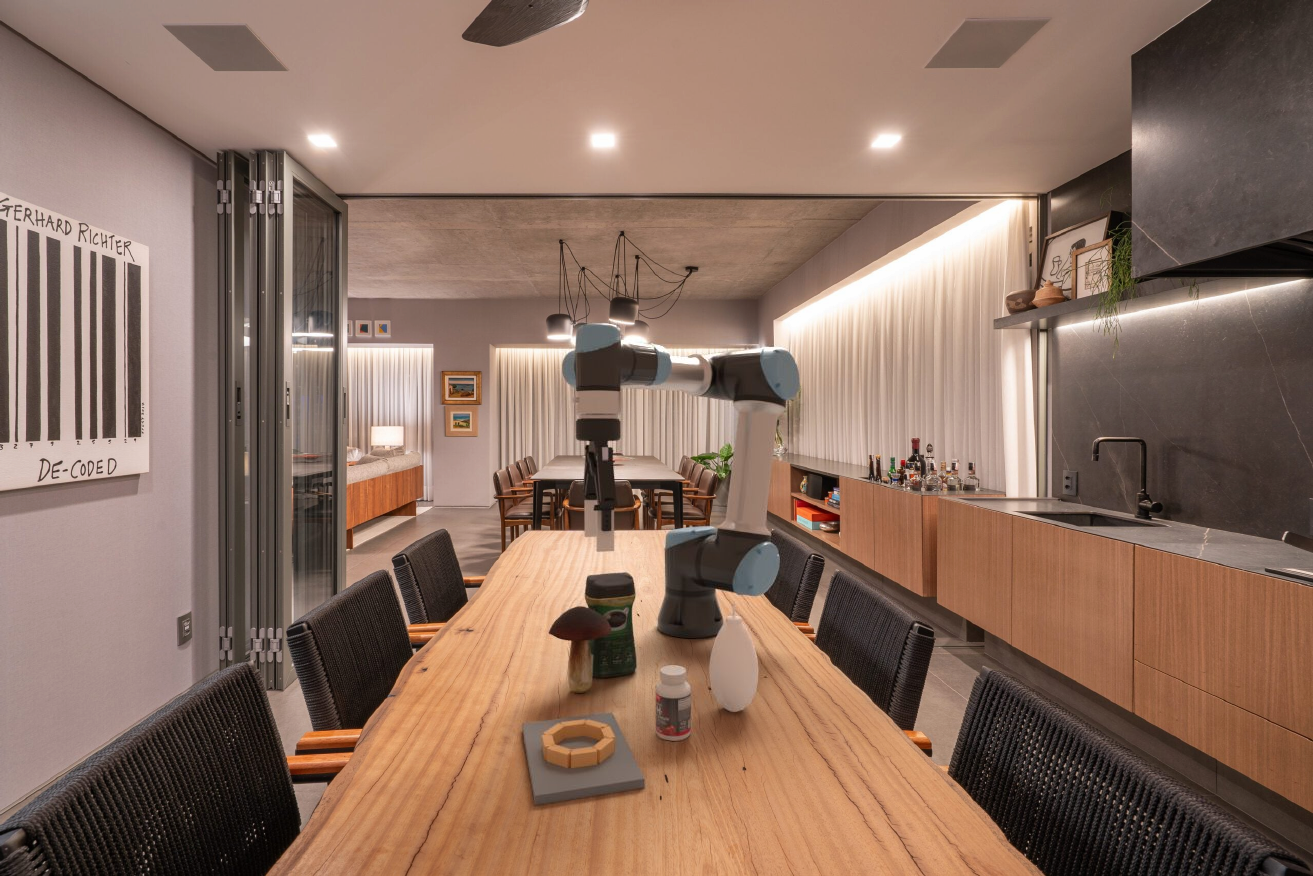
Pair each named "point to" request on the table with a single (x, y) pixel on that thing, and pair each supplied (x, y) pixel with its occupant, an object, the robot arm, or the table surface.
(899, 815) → the table surface
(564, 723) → the socket board
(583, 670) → the decorative mushroom
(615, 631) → the coffee jar
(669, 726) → the pill bottle
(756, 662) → the sauce bottle
